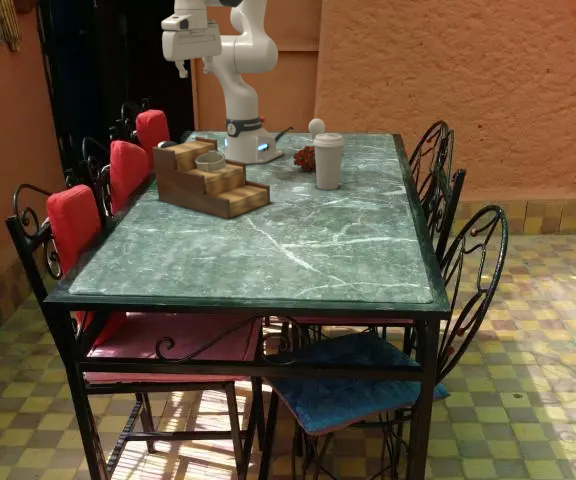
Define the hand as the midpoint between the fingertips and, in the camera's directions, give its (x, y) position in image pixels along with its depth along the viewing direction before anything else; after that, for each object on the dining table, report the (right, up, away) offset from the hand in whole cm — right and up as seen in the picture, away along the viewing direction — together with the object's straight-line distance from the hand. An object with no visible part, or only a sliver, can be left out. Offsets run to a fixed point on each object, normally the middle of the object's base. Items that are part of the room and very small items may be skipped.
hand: (195, 75), depth 185 cm
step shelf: (+5, -37, +1) cm, 37 cm away
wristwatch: (+5, -29, -4) cm, 30 cm away
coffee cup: (+39, -29, +12) cm, 50 cm away
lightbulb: (+38, -2, +53) cm, 65 cm away
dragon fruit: (+34, -18, +29) cm, 48 cm away
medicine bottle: (-11, -25, +19) cm, 33 cm away
